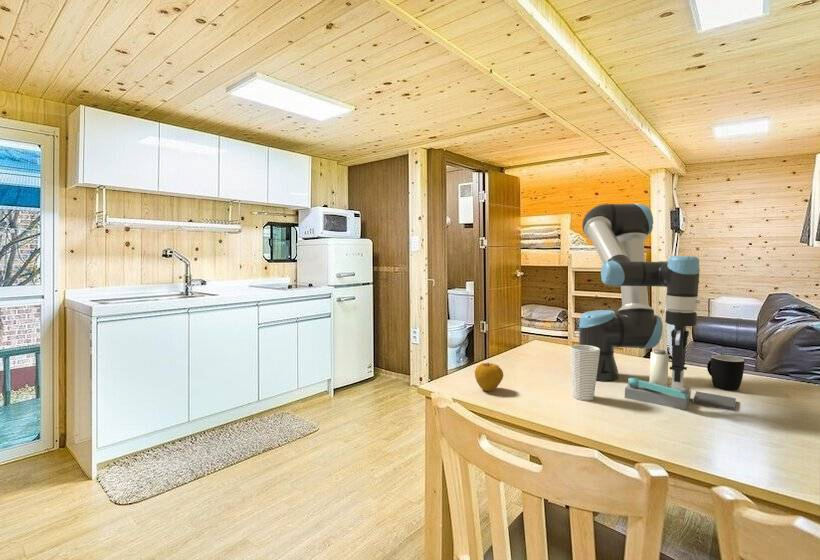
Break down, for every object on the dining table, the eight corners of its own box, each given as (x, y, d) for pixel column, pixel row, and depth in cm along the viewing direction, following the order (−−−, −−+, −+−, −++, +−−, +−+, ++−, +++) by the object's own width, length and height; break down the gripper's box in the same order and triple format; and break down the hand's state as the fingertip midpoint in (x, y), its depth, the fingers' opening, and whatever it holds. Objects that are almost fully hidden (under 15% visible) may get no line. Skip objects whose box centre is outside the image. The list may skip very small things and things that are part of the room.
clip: (626, 383, 135) (626, 374, 135) (631, 382, 137) (632, 373, 137) (685, 400, 121) (685, 390, 121) (691, 397, 123) (691, 388, 122)
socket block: (624, 397, 134) (625, 385, 134) (632, 388, 144) (633, 376, 143) (685, 409, 124) (686, 396, 124) (690, 398, 134) (691, 386, 134)
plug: (640, 398, 133) (642, 351, 132) (645, 392, 140) (647, 346, 139) (670, 404, 128) (673, 355, 127) (674, 397, 135) (676, 350, 134)
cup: (597, 394, 137) (599, 345, 136) (599, 403, 129) (601, 351, 128) (568, 391, 139) (569, 343, 138) (568, 400, 131) (570, 349, 130)
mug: (749, 392, 141) (751, 361, 140) (725, 393, 140) (727, 361, 139) (718, 381, 153) (720, 352, 152) (695, 381, 151) (697, 353, 151)
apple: (505, 388, 143) (506, 360, 142) (499, 396, 135) (499, 367, 134) (478, 384, 146) (479, 357, 146) (470, 391, 138) (471, 364, 138)
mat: (692, 402, 130) (693, 399, 130) (696, 394, 138) (696, 391, 138) (734, 410, 124) (734, 407, 124) (735, 401, 132) (735, 398, 132)
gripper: (694, 314, 117) (690, 401, 118) (698, 309, 127) (694, 388, 129) (662, 312, 121) (658, 395, 123) (669, 307, 131) (665, 383, 133)
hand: (677, 391), depth 126 cm, fingers closed
